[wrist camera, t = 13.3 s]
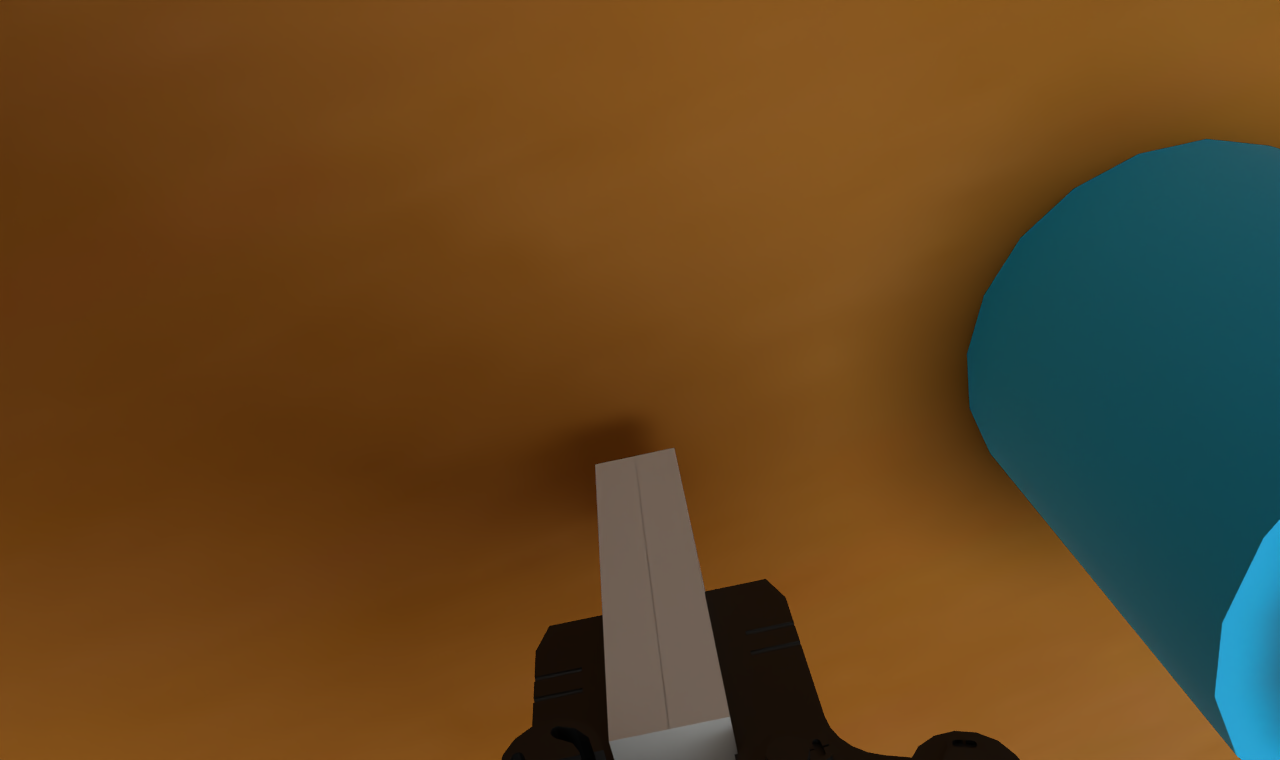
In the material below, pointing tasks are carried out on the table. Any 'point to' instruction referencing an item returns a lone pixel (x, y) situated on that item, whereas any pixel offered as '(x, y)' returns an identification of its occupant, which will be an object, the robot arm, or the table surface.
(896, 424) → the table surface
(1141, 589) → the mug
